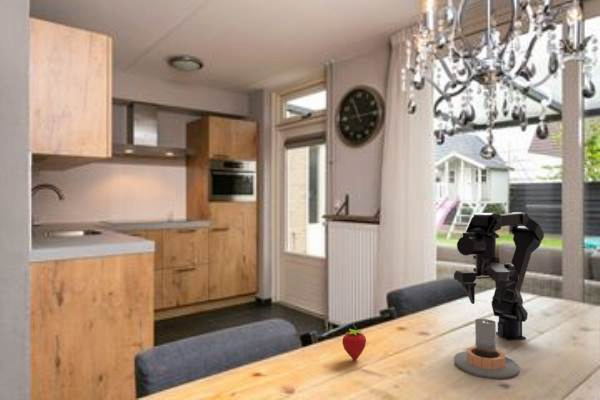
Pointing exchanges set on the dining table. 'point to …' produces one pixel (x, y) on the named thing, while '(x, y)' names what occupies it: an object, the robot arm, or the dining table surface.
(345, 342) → the strawberry
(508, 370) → the slate seat plate
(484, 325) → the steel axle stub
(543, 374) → the dining table surface
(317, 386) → the dining table surface
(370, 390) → the dining table surface
